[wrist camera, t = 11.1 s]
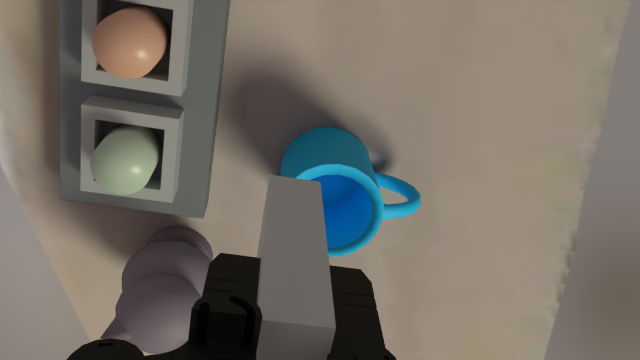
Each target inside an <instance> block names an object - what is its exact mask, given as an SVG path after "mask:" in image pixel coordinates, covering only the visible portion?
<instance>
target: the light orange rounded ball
mask: <svg viewBox="0 0 640 360" xmlns="http://www.w3.org/2000/svg"><path fill="white" fill-rule="evenodd" d="M169 41H170V37H169V31H168V28H167V25H166V23H165V22H164V20H163V19H162V18H161V16H160V15H159V14H157V13H156V12H155V11H153V10H152V9H150V8H148V7H145V6H141V5H131V6H127V7H124V8H122V9H120V10H119V11H117V12H115V13H113V14H112V15H110V16H108V17H106V18H105V19H103V20H102V21H101V22H100V23H99V24H98V25H97V26H96V28H95V30H94V33H93V36H92V49H93V53H94V55H95V58H96V60H97V61H98V63H99V64H100V65H101V66H102V67H103V69H105V70H106V71H107V72H108V73H110V74H112V75H114V76H116V77H118V78H122V79H137V78H140V77H142V76H144V75H146V74H147V73H149V72H150V71H151V70H152V68H153V67H154V66H155V65H156V64H157V63H158V62H159V61H160V59H161V58H162V57H163V56H164V55H165V53H166V52H167V49H168V46H169Z"/></svg>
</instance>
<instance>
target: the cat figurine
mask: <svg viewBox="0 0 640 360" xmlns="http://www.w3.org/2000/svg"><path fill="white" fill-rule="evenodd" d="M212 261H213V252H212V249H211V246H210V244H209V243H208V241H207V240H206V239H205V238H204V237H203V236H202V235H200V234H199V233H198V232H196V231H194V230H191V229H189V228H185V227H170V228H165V229H163V230H161V231H159V232H157V233H156V234H155V235H154V236H153V237H152V238H151V239H150V240H149V242H148V245H147V246H146V247H143V248H141V249H140V250H138V251H137V252H136V253H135V254H134V255H133V256H132V257H131V258H130V259H129V260H128V262H127V264H126V266H125V268H124V271H123V273H122V291H123V292H122V293H121V295H120V297H119V300H118V302H117V304H116V317H115V318H114V320H113V321H112V323H111V324H110V325H109V327H108V328H107V329H106V331H105V332H104V334H103V335H102V336H101V338H100V339H109V338H112V339H121V340H127V341H128V342H130V343H132V344H134V345H136V346H137V347H138V348H139V349H140V350H141V351H144V352H147V353H151V354H161V353H165V352H169V351H172V350H174V349H177V348H179V347H180V346H182V345H183V344H184V343H186V342H187V341H188V337H189V327H190V318H191V309H192V307H193V305H194V304H195V302H196V301H197V300H198V299H200V298H201V297H202V293H203V289H204V284H205V280H206V276H207V272H208V267H209V263H210V262H212Z"/></svg>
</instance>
